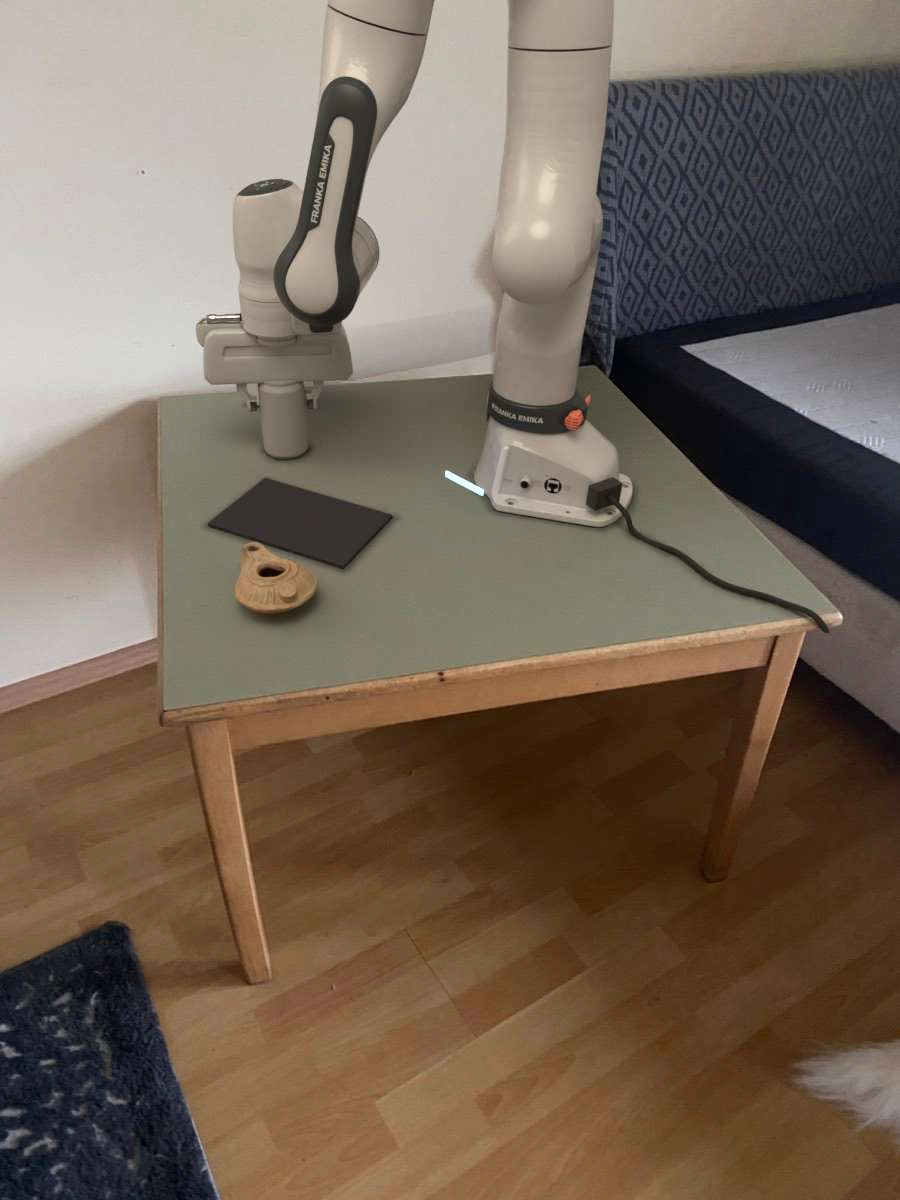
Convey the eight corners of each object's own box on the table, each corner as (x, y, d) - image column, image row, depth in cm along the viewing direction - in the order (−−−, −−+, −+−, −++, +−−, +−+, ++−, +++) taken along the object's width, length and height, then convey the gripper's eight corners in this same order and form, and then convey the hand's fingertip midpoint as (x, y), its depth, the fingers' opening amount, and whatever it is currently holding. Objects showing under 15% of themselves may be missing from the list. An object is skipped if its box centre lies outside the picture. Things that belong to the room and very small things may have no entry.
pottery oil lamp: (283, 553, 108) (305, 517, 103) (306, 635, 102) (330, 601, 97) (214, 549, 103) (233, 510, 98) (234, 635, 97) (256, 599, 92)
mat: (392, 517, 116) (392, 514, 116) (343, 569, 106) (343, 565, 106) (265, 480, 122) (264, 477, 121) (208, 526, 112) (207, 523, 112)
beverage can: (315, 455, 128) (311, 378, 121) (275, 466, 125) (268, 387, 118) (296, 437, 132) (290, 361, 125) (257, 447, 129) (248, 370, 122)
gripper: (192, 323, 112) (206, 422, 120) (352, 320, 115) (355, 415, 124) (194, 306, 116) (207, 401, 125) (348, 303, 120) (350, 396, 129)
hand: (282, 408), depth 124 cm, fingers open, 7 cm apart
